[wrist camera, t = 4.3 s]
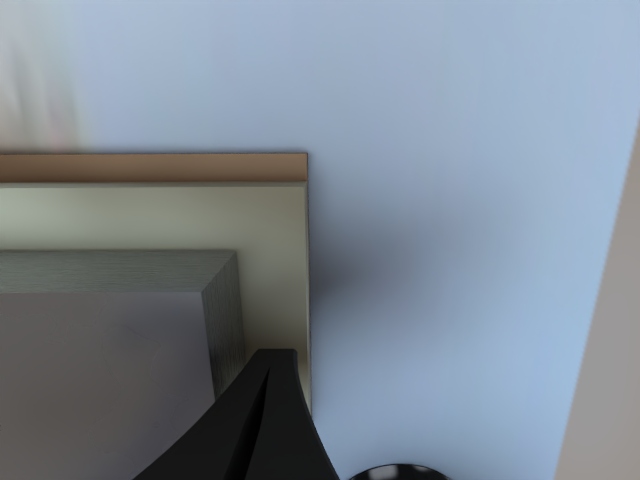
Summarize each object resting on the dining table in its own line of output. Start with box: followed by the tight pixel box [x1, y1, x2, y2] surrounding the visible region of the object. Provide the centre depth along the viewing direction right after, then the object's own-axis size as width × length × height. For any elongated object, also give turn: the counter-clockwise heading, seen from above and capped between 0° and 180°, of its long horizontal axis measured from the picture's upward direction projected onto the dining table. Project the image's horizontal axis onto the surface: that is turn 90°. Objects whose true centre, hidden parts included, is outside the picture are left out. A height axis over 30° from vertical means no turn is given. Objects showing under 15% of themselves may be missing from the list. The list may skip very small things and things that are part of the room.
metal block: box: [0, 251, 246, 480], centre depth 9 cm, size 8×12×3 cm, turn 90°
